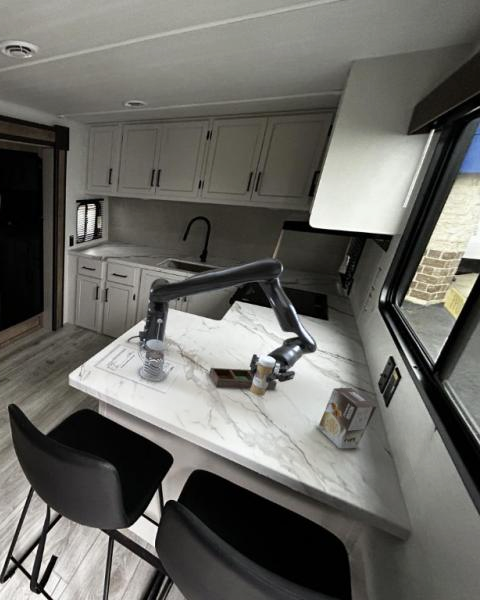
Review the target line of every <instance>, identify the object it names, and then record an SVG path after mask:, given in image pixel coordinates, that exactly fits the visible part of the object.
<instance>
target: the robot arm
mask: <svg viewBox="0 0 480 600" xmlns="http://www.w3.org/2000/svg"><path fill="white" fill-rule="evenodd" d="M283 270H284V265H283V263H282V262H281V261H280V260H279V259H276V258H275V257H264V258H261V259H258V260H256V261H255V260H254V261H251V262H248V263H245V264H240V265H234V266H225V267H220V268H214V269H209V270H205V271H201V272H197V273H196V274H193V275H191V276H189V277H188V278H184V279H182V280H179V281H178V280H177V281H172V282H170V281H169V280H168V279H166V278H156V279H154V280H153V281H152V282H151V284H150V288H149V296H148V302H147V308H146V309H147V310H146V318H145V325H143V330H140V331H138V335H134V336H130V337H129V338H128V339H127V342H129V341H131V340H133V339H136V338H139V342H141V344H142V345H143V344H146V343H147V341H149V340H157V336H158V340H161V341H162V342H164V341H165V335H166V328H167V322H168V316H169V309H170V302H172V301H174V300H175V301H176V300H178V299H181V298H186V297H192V296H198V295H203V294H209V293H210V294H211V293H215V292H220V291H224V290H227V289H231V288H233V287H237V286H239V285H242V284H248V283H254V282H258V284H259V286H260V287H261V289H262V290H263V292H264V293H265V296H266V297H267V299H268V302H269V304H270V306H271V309H272V311H273V313H274V315H275V318H276V321H277V323H278V325H279V327H280V329H281V331H282V332H283V333H293V334H295V335H296V336H293V337H289V338H288V337H287V338H286V339H284V340H283V341H282V344H281V346H279V347H277V348H275V349H274V350H272V351H271V352H269V353H268V354H267V356H270V357H272V358H274V359H275V361H276V362H275V365H274V367H273V369H272V373H271V374H270V375H268V376H267V378H266V382H267V383H268V382H272V381H274V380H275V381H276V380H278V382H280V383H284V382H287V381H292V380H293V379H294V378H295V375H296V372H295V371H294V370H290V369H291V368H293V367H294V366H295V364H296V363H297V362H298V361H299V360H301V358H302V357H303V356H304V355H311V354H314V353H316V352H317V348H318V344H317V342H316V340H315V338H314V337H313V336H312V335H311V333H310V332H309V331H308V330H307V329H306V328H305V326H304V325H303V324H302V322H301V321H302V320H301V319H300V317H299V315H298V312H297V311H296V308H295V307H294V305H293V303H292V302H291V300H290V299H289V297H288V296H287V294H286V293H285V291H284V289H283V287H282V285H281V281H280V276H281V275H282V273H283V272H284V271H283ZM158 319H162V323H160V327H159V323H158V322H157V321H158ZM158 330H159V333H158ZM146 347H147V345H145V346H144V345H143V347H142V348H143V350H146V351H147V350H149V349H150V348H149V347H147V348H146ZM251 357H252V358H251V359H250V363H249V368H250V369H249V370H250V374H251V375H253V374H255V373H256V370H257V367H258V364H259V358H260V357H259V356H258V355H257V354H256V353H253V354H252V356H251Z"/></svg>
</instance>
